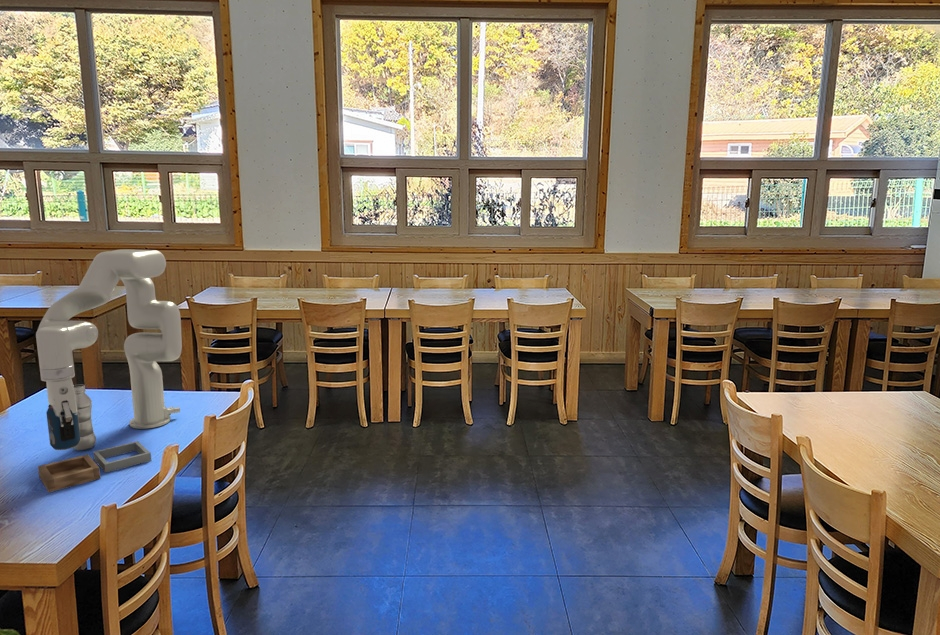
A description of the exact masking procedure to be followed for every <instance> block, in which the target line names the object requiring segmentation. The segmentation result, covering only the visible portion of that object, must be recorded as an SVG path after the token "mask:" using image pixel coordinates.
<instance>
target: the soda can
mask: <svg viewBox="0 0 940 635" xmlns="http://www.w3.org/2000/svg"><path fill="white" fill-rule="evenodd" d="M47 407H48V408H47V410H46V422H47V430H48V437H49V438H48V440H49V445H50V446H51V448H52V449H54V450H55V451H65V450H70V449H74V447H76V446H77V445H78V443H79V442H80V430H79V421H78V412H77V413H76V414H74V413H72V412H71V414H72V419H73V424H74V431H75V438H74V439H71V440H66V441H61V438H60V429H59V427H61V426H60V421H59V417H57V416H56V415H55V413H54V411H53V408H52V407H51V406H50V405H49V404H48V406H47ZM70 410H71V409H70ZM61 415H64V412H61ZM63 419H65V417H63V418H62V420H63Z"/></svg>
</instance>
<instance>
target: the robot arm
mask: <svg viewBox="0 0 940 635" xmlns="http://www.w3.org/2000/svg"><path fill="white" fill-rule="evenodd" d="M166 266H167V260H166V258H165V255H164V254H163V253H162V252H161V251H159V250H156V249H132V248H131V249H127V248H126V249H125V248H124V249H115V250H112V251H111V250H107V251H101V252H99V253H98V254H96V256H94V258H93V260H92V261H91V263H90V265H89V267H88V269H87V271H86V272H85V275H83V278H82V280H81V281H80V283H79V286H78V287H77V288H76V289H73V290H72V291H70V292H69V293H67V294H66V295H64V296H62V297H61V298H59V299H58V300H56V301H55V302H53V304H51V305H50V307H49V308H48V309H47V310H46V312H45V314H44V316H43V317H42V319H41V320H40V323H39V325H38V327H37V331H36V332H35V338H36V340H35V341H36V346H37V356H38V364H39V365H38V366H39V372H40V381H42V382H46V393H47V400H48V401H47V402H48V406H49V405H50V406H51V407H52V408H53V411H54V413H55V415H56V416H57V417H59V421H60V426H61V427H59V429H60V438H61V441H66V440H71V439H74V438H75V431H74V424H73V419H72V414H71V412H72V413H74V414H76V413H77V412H78V411H77V405H76V398H75V392H74V383H73V378H75V377H76V376H75V375H76V374H75V363H74V356H73V351H74V350H78V349H85V348H89V347H91V346H92V345H94V344H96V343H95V342H97V339H98V337H99V329H98V327H97V326H96V325H95V323H92V322H90V321H86V320H70V319H71V318H73V317H75V316H77V315H79V314H81V313H84V312H86V311H90V310H93V309H95V308H99V307H102V306H103V305H106V304H108V302H109V301H110V299H112V298H111V297H112V295H113V294H114V291H115V289H116V287H117V285H118V283H119V281H121V282H122V284H123V285H124V288H125V296H126V311H127V312H126V313H127V321H128V324H129V326H130V327H132V328H133V329H141V330H160V331H161V332H135V333H132V334H130V335H128V336H126V338H125V339H124V344H123V350H124V354H125V357H126V360H127V363H128V367H129V374H130V386H131V397H132V407H133V418H132V419H130V420H129V426H130V427H131V428H133V429H138V430H139V429H141V430H143V429H144V430H145V429H153V428H158V427H162V426H164V425H167V424H168V423H170V421H171V420H172V419H171V418H172V417H171V414H178V413H181V407H180V406H177V407H174V406H170V407H166V406H165V405H166V404H165V395H164V382H163V372H162V368H161V367H160V365H159V364H158V363H157V362H174V361H177V360H178V359H179V358H180V356H181V354H182V349H183V348H182V347H183V342H182V341H183V340H182V320H181V318H182V317H181V313H180V309H179V307H178V305H177V304H176V303H175V302H173V301H169V300H157V298H156V288H155V284H154V281H153V280H152V278H156V277H160V276H161V275H162V274H164V272H165V270H166ZM70 409H71V410H70ZM61 412H64V415H61ZM63 417H65V419H63V420H62V418H63Z"/></svg>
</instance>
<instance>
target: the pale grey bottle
mask: <svg viewBox="0 0 940 635" xmlns="http://www.w3.org/2000/svg"><path fill="white" fill-rule="evenodd" d="M73 386H74V392H75V398H76V405H77V411H78V421H79V430H80V442H79V443H78V445H77V446H76V447H74V448H73V450H75V451H86V450H90V449H92V448H93V447H95V445H96V442H97V441H96V440H97V437H96V433H95V432H94V431H95V430H94V426H93V422H92V406H93V405H92V404H93V403H92V398H91V397H90V396H89V395H88V394H86V386H85V384H75V385H74V384H73Z"/></svg>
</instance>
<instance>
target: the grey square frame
mask: <svg viewBox="0 0 940 635" xmlns="http://www.w3.org/2000/svg"><path fill="white" fill-rule="evenodd" d="M130 451H132V452H137V453H138V454H136V455H132V456H128V457H124V458H120V459H117V460H112V461H109V462H108V461H107V460H106V459H107V458H111V457H116V456H119V455H124V454H128V453H131V452H130ZM127 452H128V453H127ZM123 453H124V454H123ZM151 454H152V453H151V452H150V450H148V449H147V448H146V447H145V446H144V445H143V444H142V443H140V441H138V440H136V441H133V442H128V443H124V444H120V445H115V446H112V447H108V448H104V449H100V450H99V449H98V450H95V451H93V461H94V462H95V463H96V464H97V463H98V464H99V465H98V464H97V465H98V467H99V468H101V470H102V471H103V470H104V473H106V472H107V473H111V472H114V470H115V471H118V470H117V469H119V470H122V469H125V467H126V468H129V466H130V467H132V465H134V466H136V464H138V465H141V464H144V463H149V462H152V455H151ZM140 463H141V464H140ZM121 468H122V469H121ZM110 471H111V472H110ZM107 473H106V474H107Z"/></svg>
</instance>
